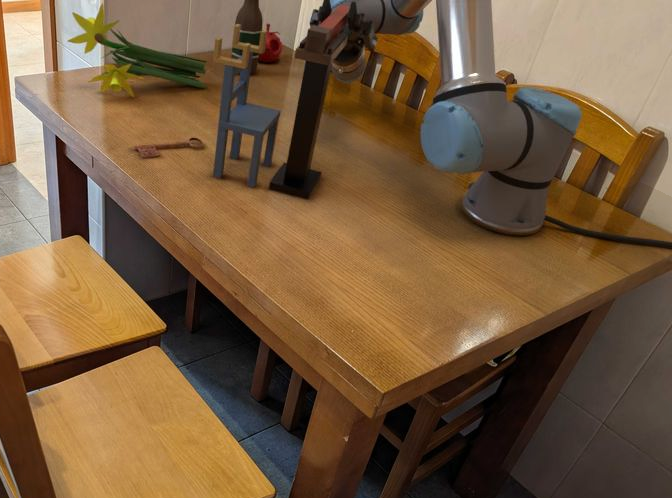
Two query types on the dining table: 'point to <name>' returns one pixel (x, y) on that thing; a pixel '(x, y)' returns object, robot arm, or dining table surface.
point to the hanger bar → (326, 30)
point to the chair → (242, 109)
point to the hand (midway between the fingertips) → (337, 7)
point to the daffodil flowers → (135, 58)
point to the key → (153, 146)
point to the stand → (307, 121)
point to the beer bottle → (249, 29)
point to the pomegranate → (271, 47)
